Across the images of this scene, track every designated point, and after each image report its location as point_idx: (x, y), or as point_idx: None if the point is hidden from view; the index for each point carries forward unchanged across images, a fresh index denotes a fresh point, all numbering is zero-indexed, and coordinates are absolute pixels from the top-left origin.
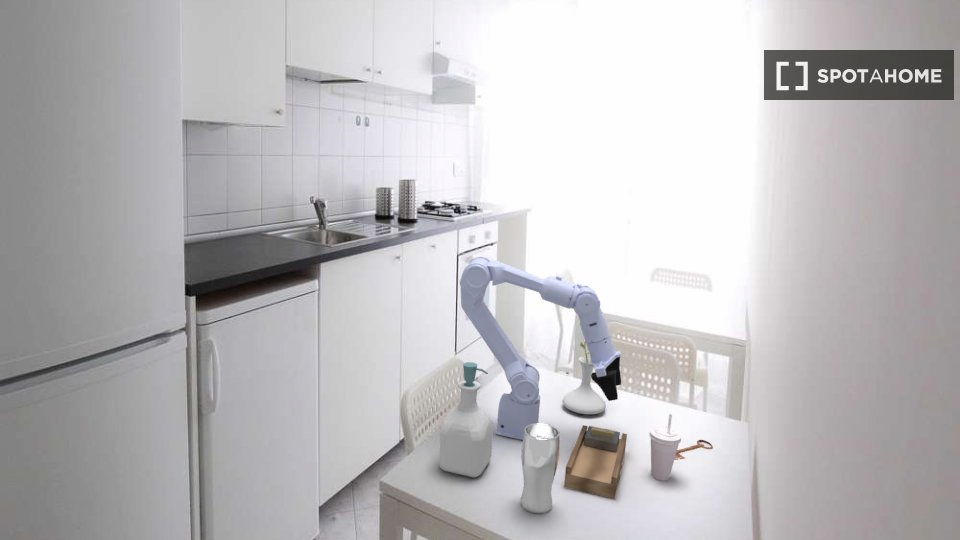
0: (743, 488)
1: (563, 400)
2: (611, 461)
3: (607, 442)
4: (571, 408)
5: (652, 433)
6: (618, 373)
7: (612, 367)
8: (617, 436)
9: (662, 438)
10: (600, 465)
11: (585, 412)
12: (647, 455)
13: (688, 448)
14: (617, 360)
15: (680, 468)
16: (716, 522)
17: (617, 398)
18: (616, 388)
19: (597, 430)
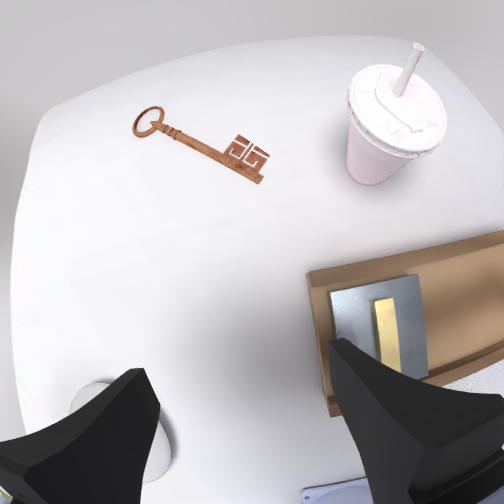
0: (296, 39)
1: (145, 483)
2: (453, 269)
3: (421, 304)
4: (169, 463)
5: (436, 139)
6: (112, 410)
7: (109, 467)
8: (369, 289)
9: (439, 109)
10: (482, 286)
11: (163, 429)
12: (284, 215)
13: (190, 138)
14: (60, 469)
15: (299, 132)
16: (435, 72)
17: (337, 339)
18: (358, 366)
19: (399, 355)
